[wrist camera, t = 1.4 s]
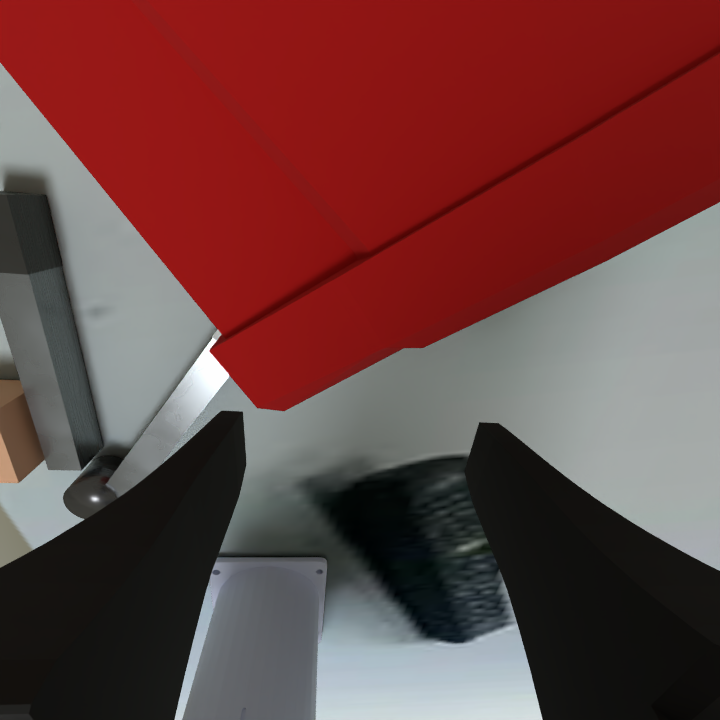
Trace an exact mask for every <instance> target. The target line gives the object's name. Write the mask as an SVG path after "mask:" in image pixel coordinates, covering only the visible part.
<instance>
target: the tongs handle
mask: <svg viewBox="0 0 720 720" xmlns="http://www.w3.org/2000/svg"><path fill="white" fill-rule="evenodd" d="M61 266H62V262H61V258H60V254H59V249H58V245H57V241H56V236H55V232H54V228H53V223H52V219H51V215H50V210H49V206H48V202H47V197H46V195H40V194H29V193H18V192H7V191H0V318H1V321H2V324H3V327H4V330H5V334H6V337H7V340H8V343H9V346H10V349H11V353H12V356H13V359H14V362H15V365H16V369H17V372H18V375H19V378H20V381H21V384H22V388H23V391H24V394H25V397H26V400H27V403H28V407H29V410H30V413H31V416H32V419H33V422H34V426H35V429H36V432H37V435H38V438H39V441H40V445H41V448H42V451H43V454H44V457H45V461H46V464H47V467H48V470H82V469H83V468H84V467H85V466H86V465H87V464H88V463H89V462H90V461H91V460H92V458H93V457H94V456H95V455H96V454H97V453H98V452H99V451H100V450H101V449H102V448H103V444H102V439H101V435H100V431H99V426H98V422H97V418H96V413H95V409H94V405H93V401H92V396H91V392H90V388H89V383H88V379H87V375H86V370H85V366H84V362H83V358H82V353H81V349H80V345H79V340H78V336H77V332H76V327H75V323H74V319H73V314H72V310H71V306H70V302H69V297H68V293H67V289H66V284H65V280H64V276H63V271H62V267H61Z"/></svg>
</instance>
